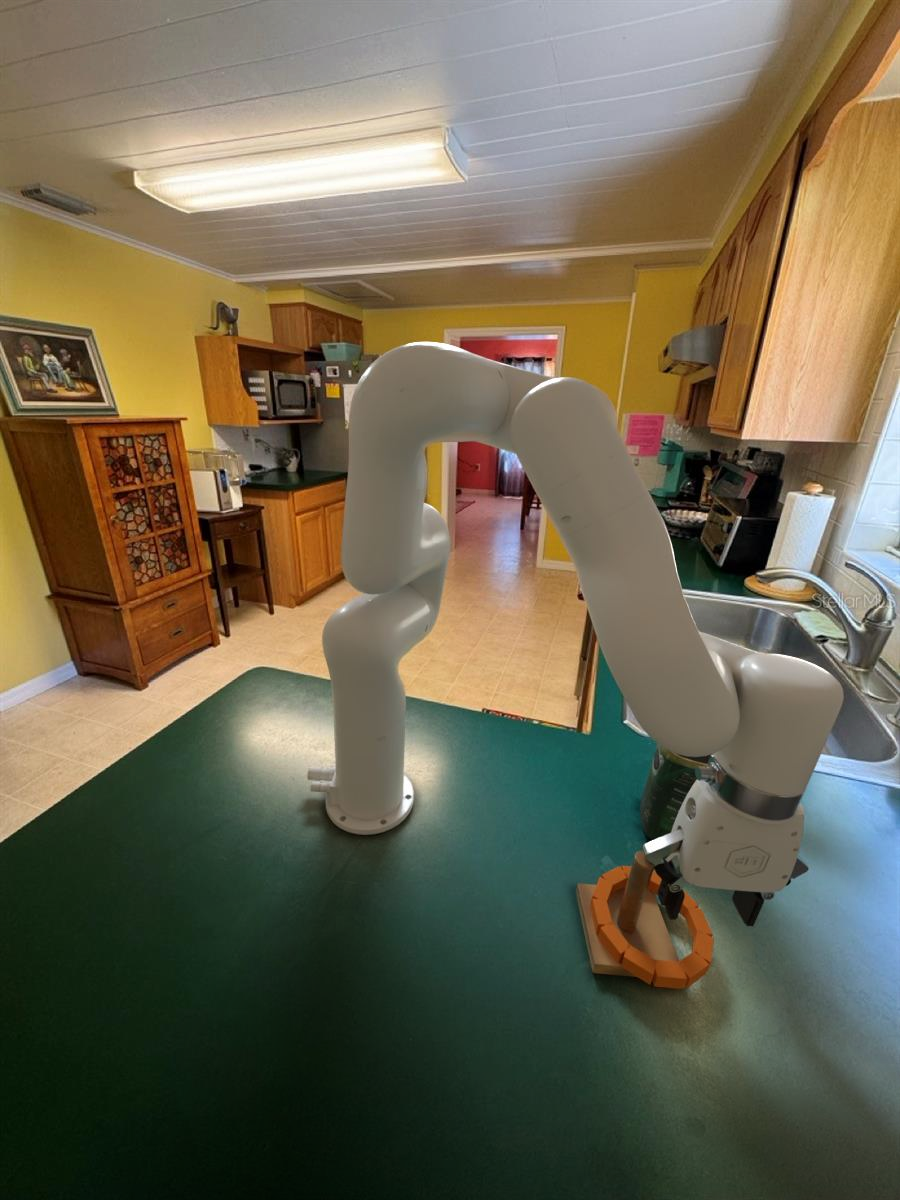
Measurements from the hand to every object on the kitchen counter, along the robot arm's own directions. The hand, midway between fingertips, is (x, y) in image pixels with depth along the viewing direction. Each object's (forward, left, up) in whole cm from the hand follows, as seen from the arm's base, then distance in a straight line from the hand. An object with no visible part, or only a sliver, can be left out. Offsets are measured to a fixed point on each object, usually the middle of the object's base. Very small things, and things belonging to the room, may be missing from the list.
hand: (704, 909), depth 51 cm
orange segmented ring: (-5, 0, -3) cm, 6 cm away
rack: (-8, 0, -5) cm, 9 cm away
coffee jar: (+3, +16, -5) cm, 17 cm away
